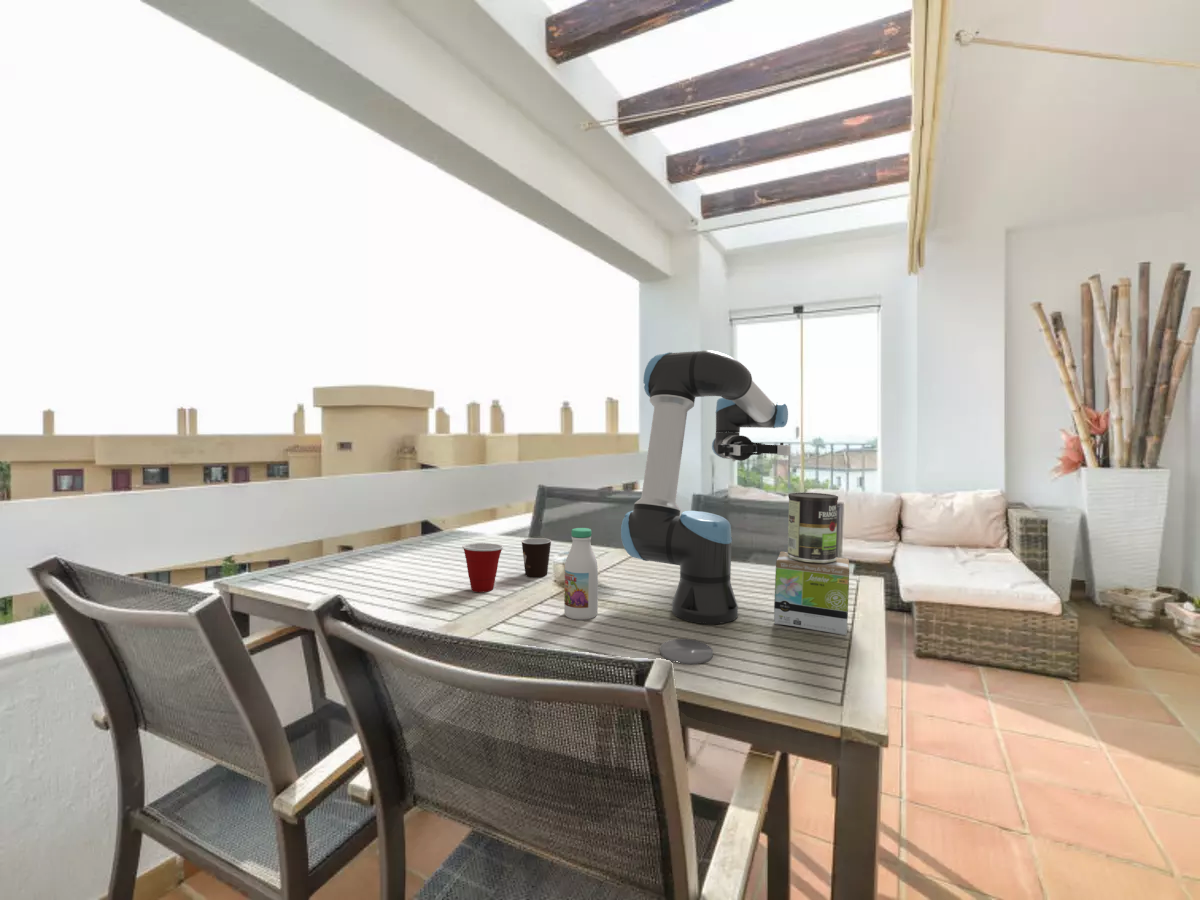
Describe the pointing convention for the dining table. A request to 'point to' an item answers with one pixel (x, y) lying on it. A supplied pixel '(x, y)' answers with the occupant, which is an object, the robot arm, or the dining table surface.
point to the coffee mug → (536, 556)
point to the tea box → (812, 594)
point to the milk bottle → (581, 577)
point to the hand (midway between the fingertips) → (764, 450)
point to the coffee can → (812, 527)
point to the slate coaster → (686, 651)
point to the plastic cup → (482, 565)
